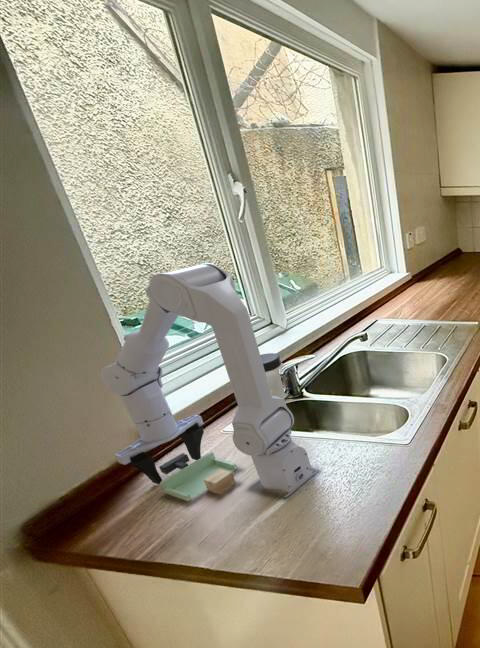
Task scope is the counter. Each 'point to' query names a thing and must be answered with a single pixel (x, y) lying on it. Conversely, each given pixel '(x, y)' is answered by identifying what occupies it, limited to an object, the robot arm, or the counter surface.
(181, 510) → the counter surface
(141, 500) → the counter surface
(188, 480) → the tray
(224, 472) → the block
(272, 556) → the counter surface
